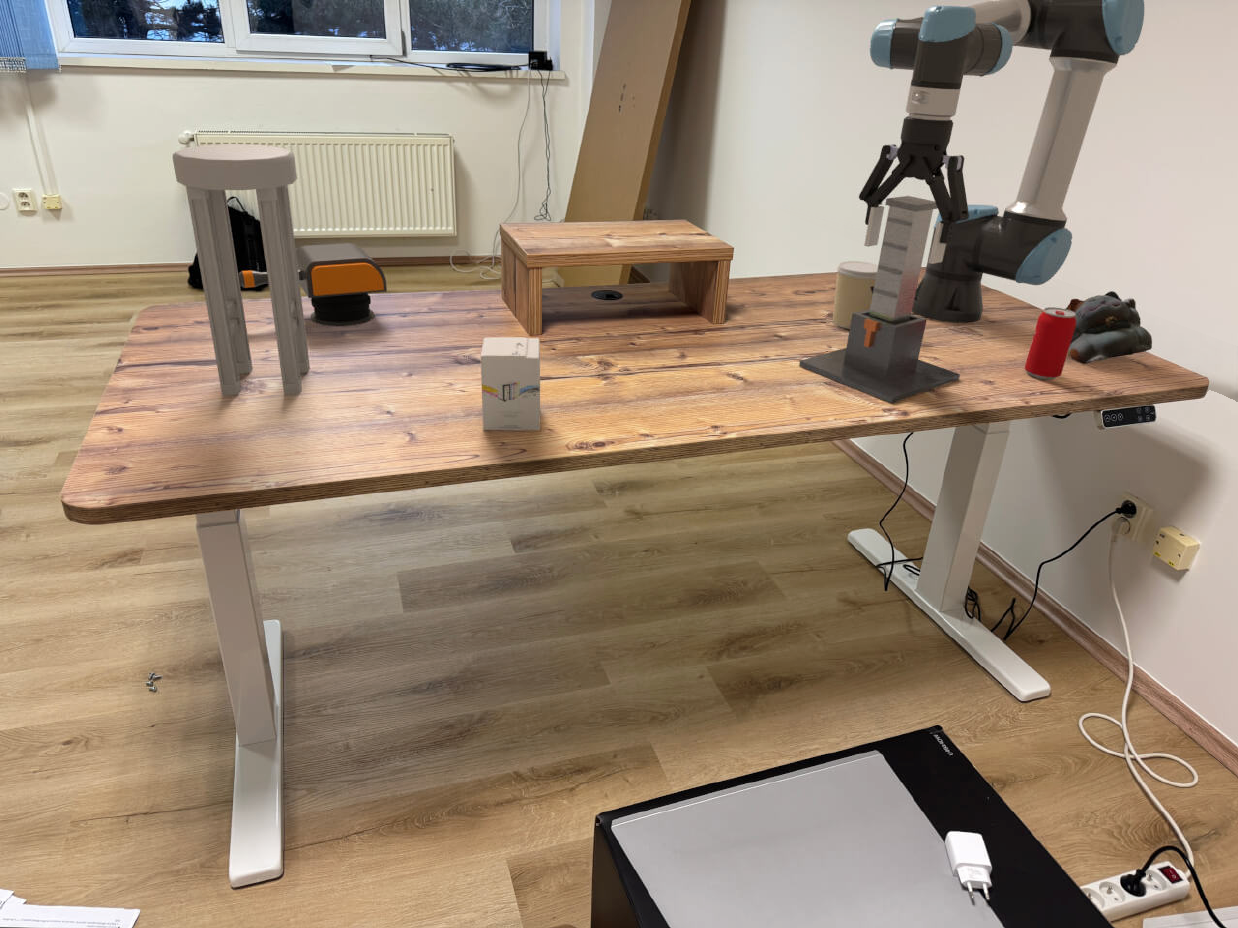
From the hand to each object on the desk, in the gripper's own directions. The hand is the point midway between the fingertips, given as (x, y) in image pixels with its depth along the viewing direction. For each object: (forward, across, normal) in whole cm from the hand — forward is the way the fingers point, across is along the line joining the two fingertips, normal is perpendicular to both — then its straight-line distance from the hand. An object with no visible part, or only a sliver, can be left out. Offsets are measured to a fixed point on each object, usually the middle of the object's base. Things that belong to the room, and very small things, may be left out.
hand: (902, 253), depth 146 cm
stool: (+22, -51, -91) cm, 107 cm away
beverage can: (+22, +17, +26) cm, 38 cm away
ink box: (+22, -18, -66) cm, 72 cm away
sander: (+22, -77, -73) cm, 108 cm away
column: (+12, 0, 0) cm, 12 cm away
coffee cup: (+22, -21, +19) cm, 36 cm away
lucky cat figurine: (+22, +18, +45) cm, 53 cm away
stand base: (+21, 0, 0) cm, 21 cm away
